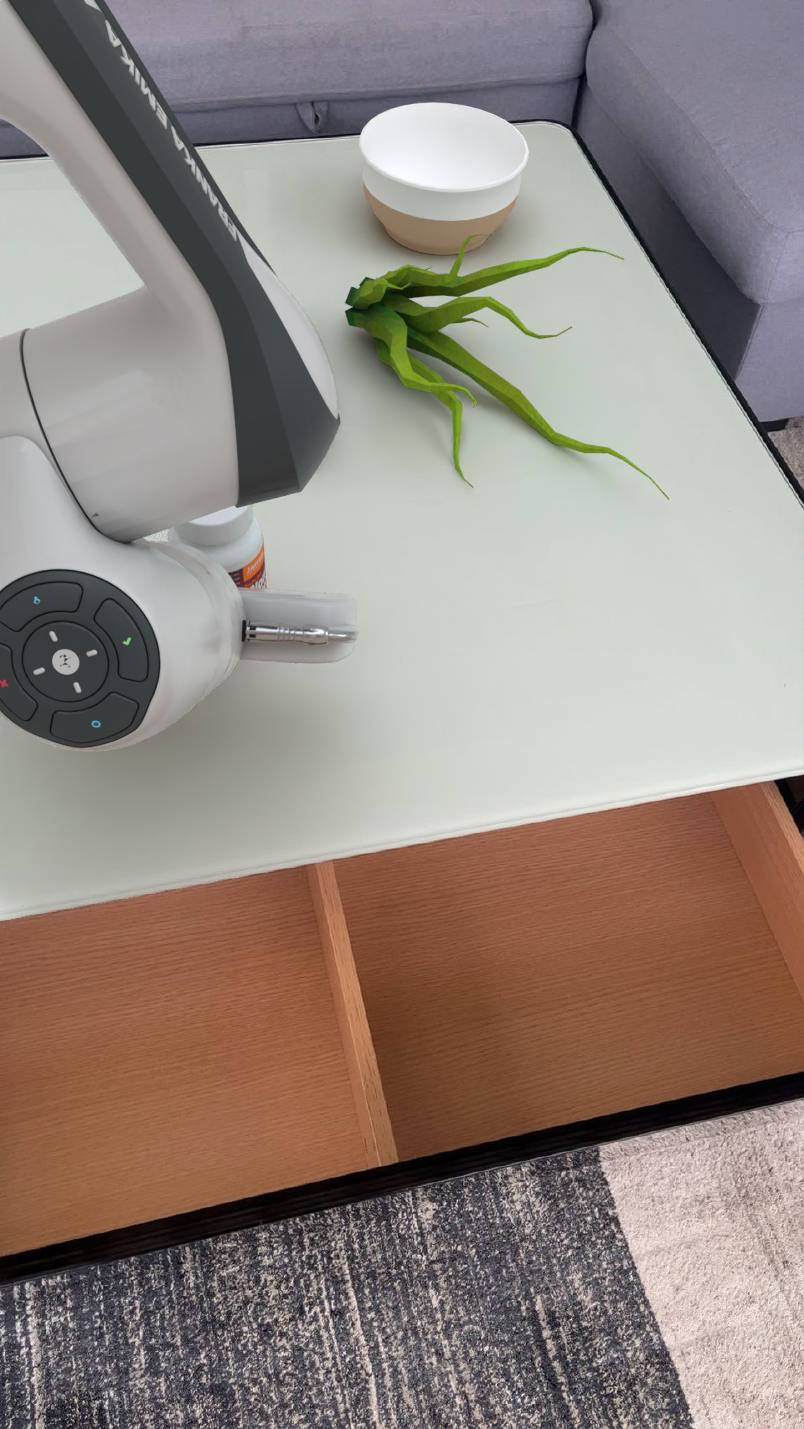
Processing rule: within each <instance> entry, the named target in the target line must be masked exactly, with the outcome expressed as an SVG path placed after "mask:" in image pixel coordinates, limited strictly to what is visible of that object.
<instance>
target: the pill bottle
mask: <svg viewBox="0 0 804 1429" xmlns="http://www.w3.org/2000/svg"><path fill="white" fill-rule="evenodd" d="M167 541H170V542H177V543H181V544H185V545H188V546H191V547H194V548H196V549H198V550H200V551H202V552H204V553H205V554H207V555H209V556H210V557H211V558H213V559H214V560H215V561H216V562H217V563H219V564H220V565H221V566H222V567H223V568H224V570H225V571H226V572H227V573H228V574H229V576H230V577H231V578H232V580H233V581H234V583H235V585H236V586H237V587H243V588H259V589H268V584H267V573H266V572H267V571H266V561H265V560H266V559H265V543H264V542H265V541H264V533H263V528H262V524H261V522H260V520H259V518H258V516H257V515H256V514H255V513H254V506H253V504H251V505H247V506H243V507H240V508H236V507H235V506H232V507H229V508H226V509H223V510H220V511H217V512H215V513H212V514H209V515H206V516H203V517H200V518H197V519H195V520H192V521H189V522H186V523H183V524H180V525H178V526H175V527H172V528H169V529H167Z"/></svg>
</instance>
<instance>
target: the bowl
mask: <svg viewBox="0 0 804 1429" xmlns="http://www.w3.org/2000/svg"><path fill="white" fill-rule="evenodd" d="M358 149H359V151H360V154H361V156H362V167H361V178H362V184H363V191H364V195H365V197H366V200H367V202H368V204H369V207H370V208H371V210H372V212H373V214H374V215H375V216H376V218H377V219H378V220H379V221H380V222H381V223H382V225H383V226H384V229H385V232H386V233H387V234H388V236H389V237H390V238H391V239H392V240H394V241H395V243H397V244H400V245H401V246H403V247H404V248H407V249H409V250H412V251H415V252H418V253H422V254H428V255H435V256H436V255H437V256H448V255H449V256H451V255H458V254H459V252H460V249H461V247H462V244H463V242H464V241H465V240H466V239H467V238H468V237H469V236H472V235H477V234H485V235H479V236H476V237H473V238H471V239H470V240H469V242H468V243H467V244H466V247H465V251H464V253H467V252H470V251H473V250H475V249H477V248H479V247H481V246H482V245H483V244H484V243H485V242H486V241H487V240H488V239H489V237H490V236H486V235H491V234H492V233H493V232H495V231H496V230H497V229H498V228H499V227H501V226H502V225H503V224H504V222H505V221H506V219H507V218H508V217H509V215H510V214H511V213H512V211H513V209H514V208H515V205H516V202H517V200H518V195H519V193H520V189H521V185H522V176H523V175H522V173H523V170H524V169H525V167H526V165H527V164H528V161H529V157H530V152H529V145H528V143H527V141H526V139H525V137H524V135H523V134H522V133H521V132H520V131H519V130H518V129H517V127H516V126H514V125H513V124H511V122H508V121H507V120H506V119H503V118H502V117H500V116H498V115H496V114H494V113H492V112H489V111H486V110H483V109H481V108H477V107H476V108H475V107H473V106H469V105H464V104H457V103H451V102H450V103H449V102H417V103H411V104H405V105H400V106H396V107H394V108H389V109H387V110H385V111H382V112H381V113H378V114H377V115H376V116H374V117H372V118H371V119H370V120H369V121H368V122H367V123H366V124H365V125H364V127H363V128H362V130H361V132H360V134H359V137H358Z"/></svg>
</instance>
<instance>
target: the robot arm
mask: <svg viewBox="0 0 804 1429" xmlns="http://www.w3.org/2000/svg"><path fill="white" fill-rule="evenodd" d="M0 119H1V120H2V121H5V122H7V123H9V124H11V125H12V126H14V127H15V128H17V129H18V130H20V131H21V132H22V133H24V134H25V135H27V136H28V137H29V138H30V139H31V140H32V141H34V143H35V144H37V145H38V146H39V147H40V148H41V149H42V150H43V151H44V152H45V153H46V154H47V156H48V157H49V158H50V159H51V161H53V164H55V165H56V167H57V168H58V169H59V171H60V173H62V176H64V178H65V179H66V180H67V181H68V183H69V184H70V186H71V187H72V188H73V190H74V191H75V193H76V194H77V195H78V196H79V198H80V199H81V201H82V202H83V204H85V206H86V207H87V209H88V210H89V212H90V213H91V214H92V215H93V216H94V218H95V220H96V221H97V222H98V223H99V225H100V226H101V228H102V229H103V230H104V232H105V233H106V234H107V235H108V237H109V238H110V239H111V241H112V243H113V244H114V245H115V246H116V247H117V249H118V250H119V252H120V253H121V254H122V256H123V257H124V258H125V259H126V261H127V262H128V264H129V265H130V267H131V268H132V269H133V271H134V272H135V274H136V275H137V276H138V277H139V279H140V280H141V282H143V284H144V285H142V286H140V287H139V288H137V289H135V290H133V291H131V292H128V293H125V294H123V295H121V296H118V297H114V298H112V299H109V300H107V301H103V302H100V303H98V304H95V305H93V306H91V307H86V308H84V309H81V310H78V311H75V312H73V313H71V314H68V315H65V316H62V317H59V318H57V319H54V320H51V321H48V322H46V323H43V324H40V325H37V326H34V327H31V328H30V327H27V328H23V329H20V330H18V331H15V332H12V333H9V334H7V335H4V336H1V337H0V716H1V717H2V718H3V719H4V720H5V721H6V722H8V723H9V724H10V725H11V726H13V727H14V728H16V729H17V730H18V731H20V732H22V733H23V734H25V735H27V736H28V737H30V738H33V739H34V740H36V741H38V742H41V743H44V744H45V745H49V746H51V747H53V748H54V747H55V748H57V749H62V750H67V751H73V752H106V751H113V750H120V749H123V748H126V747H127V748H128V747H130V746H134V745H136V744H138V743H141V742H144V741H145V740H147V739H150V738H152V737H154V736H156V735H158V734H160V733H161V732H162V731H164V730H166V729H167V728H169V727H171V726H172V725H174V724H175V723H176V722H178V721H179V720H180V719H182V718H183V717H184V716H186V715H187V714H188V713H189V712H190V711H191V710H192V709H194V707H195V706H196V705H198V704H199V703H201V702H202V701H203V700H205V698H208V696H209V695H210V694H212V692H214V691H215V690H216V689H217V688H218V687H220V686H221V685H222V684H223V683H224V682H225V681H226V680H227V679H228V678H229V676H230V675H231V674H232V672H233V671H234V669H235V668H236V666H237V665H238V663H239V660H240V661H254V662H255V661H257V662H271V663H285V664H287V663H288V664H302V665H303V664H304V665H305V664H307V665H308V664H313V665H314V664H332V663H337V662H340V661H342V660H345V659H346V658H348V657H350V656H351V655H352V654H353V653H354V651H355V643H356V642H357V639H358V637H359V634H360V633H359V630H358V626H357V614H358V602H357V599H356V598H355V597H354V596H352V595H349V594H345V593H333V592H322V591H321V592H320V591H306V590H305V591H304V590H303V591H302V590H288V589H274V588H273V589H272V588H267V589H259V588H243V587H237V586H236V585H235V583H234V581H233V580H232V578H231V577H230V576H229V574H228V573H227V572H226V571H225V570H224V568H223V567H222V566H221V565H220V564H219V563H217V562H216V561H215V560H214V559H213V558H211V557H210V556H209V555H207V554H205V553H204V552H202V551H200V550H198V549H196V548H194V547H191V546H188V545H185V544H181V543H177V542H170V541H168V540H150V541H149V540H147V539H146V537H149V536H152V535H155V534H157V533H160V532H163V531H166V530H169V528H172V527H175V526H178V525H180V524H183V523H186V522H189V521H192V520H195V519H197V518H200V517H203V516H206V515H209V514H212V513H215V512H217V511H220V510H223V509H226V508H229V507H232V506H235V507H236V508H240V507H243V506H247V505H251V504H252V505H256V504H259V503H263V502H266V501H270V500H274V499H275V500H276V499H278V498H282V497H286V496H291V495H294V494H299V493H302V492H303V490H304V489H305V487H306V486H307V485H308V484H309V482H310V481H311V479H312V478H313V477H314V475H315V473H316V472H317V470H318V469H319V467H320V465H321V464H322V463H323V461H324V459H325V457H326V456H327V454H328V452H329V450H330V448H331V446H332V444H333V442H334V440H335V437H336V435H337V433H338V431H339V428H340V426H341V417H340V413H339V394H338V387H337V382H336V378H335V373H334V371H333V367H332V363H331V360H330V356H329V354H328V352H327V349H326V347H325V345H324V342H323V340H322V338H321V336H320V334H319V332H318V330H317V328H316V326H315V325H314V322H313V321H312V319H311V318H310V316H309V315H308V313H307V312H306V310H305V309H304V307H303V305H301V303H300V301H298V299H297V297H295V295H294V294H293V292H292V291H291V290H290V289H289V288H288V287H287V286H286V284H285V283H284V282H283V281H282V280H281V279H280V278H279V277H278V275H277V273H276V272H275V270H274V269H273V268H272V266H271V264H270V263H269V262H268V260H267V259H266V257H265V256H264V254H263V253H262V252H261V250H260V249H259V247H258V245H257V244H256V243H255V241H254V240H253V239H252V238H251V235H250V234H249V233H248V231H247V230H246V228H245V227H244V225H243V224H242V222H241V221H240V219H239V218H238V216H237V214H236V213H235V212H234V210H233V209H232V207H231V205H230V204H229V202H228V200H227V198H226V196H225V195H224V194H223V191H222V190H221V188H220V187H219V185H218V184H217V182H216V180H215V179H214V177H213V175H212V174H211V172H210V171H209V169H208V167H207V165H206V164H205V162H204V160H203V159H202V158H201V155H200V154H199V153H198V151H197V149H196V147H195V146H194V144H193V143H192V141H191V139H190V137H189V136H188V134H187V133H186V131H185V130H184V128H183V127H182V126H183V125H182V124H181V123H180V122H179V119H178V118H177V116H176V115H175V113H174V111H173V110H172V108H171V106H170V104H169V103H168V101H167V100H166V98H165V97H164V95H163V93H162V91H161V90H160V88H159V87H158V85H157V84H156V82H155V80H154V78H153V77H152V75H151V74H150V72H149V70H148V69H147V67H146V66H145V64H144V62H143V60H142V59H141V57H140V56H139V54H138V52H137V51H136V49H135V48H134V45H133V44H132V43H131V41H130V39H129V38H128V36H127V35H126V32H125V31H124V29H123V28H122V27H121V25H120V23H119V22H118V19H117V18H116V17H115V15H114V13H113V12H112V10H111V8H110V7H109V6H108V4H107V2H106V0H0Z"/></svg>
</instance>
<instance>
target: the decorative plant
mask: <svg viewBox="0 0 804 1429" xmlns="http://www.w3.org/2000/svg"><path fill="white" fill-rule="evenodd" d="M479 235H485V234H477V235H472V236H469V237H468V238H467V239H466V240H465V241H464V242H463V244H462V247H461V249H460V252H459V254H457V257H456V259H455V261H454V263H453V266H452V268H451V269H450V271H449V273H438V272H434V271H431V270H430V269H432V268H433V266H430V267H428V268H425V269H424V268H421V267H418V266H415V265H411V264H406V265H402V266H400V267H399V268H397V269H395V270H388V271H387V272H386V274H384V275H381V276H380V277H376V278H375V279H374V278H371V277H369V276H365V277H364V278H363V279H362V281H361V282H360V283H359V284H358V286H359V287H354V286H352V285H351V286H350V289H349V291H348V293H347V297H346V299H345V302H344V304H345V305H348V306H350V308H348V309H346V310H344V313H345V317H346V320H347V324H348V326H350V327H355V328H360V329H363V330H365V331H366V332H367V333H368V334H369V336H370V337H371V338H372V339H373V340H374V346H375V351H376V355H377V359H378V360H379V361H381V362H382V363H384V364H385V365H387V366H388V367H391V368H392V369H393V370H394V372H395V374H396V375H397V377H398V379H399V380H400V382H401V383H402V384H403V386H404V387H405V388H410V389H414V390H419V391H423V392H426V393H430V394H432V395H433V396H434V397H435V398H437V399H438V400H439V401H440V402H441V403H442V404H444V405H445V406H446V407H447V408H448V409H449V410H450V411H451V418H452V419H451V420H452V421H451V422H452V431H453V432H452V433H453V434H452V436H453V438H452V439H453V441H452V442H453V444H452V445H453V450H452V451H453V452H452V456H453V461H454V466H455V468H456V470H457V472H458V474H459V475H460V477H461V478H462V480H463V481H464V482H465V483H467V484H468V485H469V487H471V488H472V489H474V486H473V485H472V484H471V483H470V482H469V481H468V480H466V478H465V476H464V474H463V471H462V469H461V466H460V459H459V452H460V451H459V450H460V443H461V436H462V435H461V434H462V422H463V420H462V418H463V403H462V402H461V401H460V399H459V398H458V396H457V395H456V394H455V392H459V393H463V394H465V395H466V396H467V397H468V398H469V399H470V400H471V401H472V402H473V405H472V408H473V409H474V408H476V406H477V403H478V401H477V400H476V398H475V397H474V395H473V394H472V393H471V392H470V390H469V389H468V388H466V387H464V386H461V385H459V384H452V383H447V382H446V380H444V378H443V377H442V376H441V375H440V374H439V373H437V372H436V371H434V370H433V369H432V368H430V367H429V366H428V365H426V364H425V363H423V362H422V361H421V360H419V359H418V358H416V357H415V356H414V355H412V354H411V353H410V352H408V348H409V349H411V350H414V351H416V352H419V353H422V354H425V355H427V356H430V357H432V358H436V359H438V360H440V361H442V362H443V363H445V364H447V365H448V366H450V367H452V368H453V369H454V370H457V371H459V372H461V373H462V374H464V375H466V376H467V377H469V378H470V379H472V380H473V381H474V382H475V383H476V384H478V385H479V386H480V387H482V388H483V389H484V390H485V391H486V392H487V393H489V394H490V395H492V396H493V397H494V398H495V399H496V400H498V401H499V402H501V403H502V404H503V405H504V406H505V407H507V408H508V409H509V410H510V411H512V412H513V413H514V414H516V415H517V416H518V417H519V418H521V419H522V420H523V421H524V422H526V423H527V424H528V425H529V426H531V427H532V428H533V429H535V430H536V431H537V432H538V433H540V434H541V435H542V436H543V437H544V438H546V439H547V440H548V441H549V442H550V443H552V444H555V445H557V446H560V447H564V448H566V449H569V450H572V451H576V452H579V453H582V454H609V455H611V456H613V457H615V458H618V459H619V460H621V461H623V462H625V463H626V464H628V465H629V466H631V467H632V468H633V469H635V470H636V471H638V472H639V473H641V474H642V475H644V476H645V477H647V478H648V479H649V480H650V481H651V482H652V483H653V484H654V485H655V486H656V488H657V489H658V490H659V491H660V492H661V493H662V494H663V496H664V497H665V498H666V499H667V500H668V501H669V500H670V497H669V496H668V495H667V494H666V493H665V492H664V491H663V490H662V488H661V487H660V486H659V485H658V484H657V483H656V482H655V480H654V479H653V478H652V477H651V476H650V475H648V474H647V473H646V472H645V471H644V470H642V469H641V468H639V467H638V466H637V465H636V464H634V463H633V462H632V461H631V460H629V459H628V458H627V457H626V456H624V455H622V454H620V453H619V452H618V451H615V450H614V449H612V448H611V447H608V446H601V445H596V444H590V443H585V442H582V441H579V440H577V439H575V438H571V437H569V436H567V435H564V434H562V433H558V432H557V431H555V430H554V429H553V427H552V426H551V425H550V424H549V423H548V421H547V420H546V419H545V418H544V416H542V414H541V413H540V412H539V410H537V409H536V408H535V406H534V405H533V404H532V402H530V401H529V399H528V398H527V397H526V395H525V394H524V393H523V391H521V390H520V389H518V387H516V386H515V385H513V384H512V383H510V382H509V381H508V380H506V379H505V378H504V377H503V376H501V375H499V374H498V373H497V372H495V371H494V370H493V369H491V368H490V367H489V366H487V365H485V364H484V363H483V362H482V361H481V360H479V359H478V358H476V357H475V356H474V355H472V354H471V353H470V352H469V351H468V350H466V349H465V348H464V347H463V346H461V345H460V343H458V342H457V341H456V340H454V339H453V338H452V337H450V336H449V335H447V334H445V333H444V332H442V331H440V330H442V329H444V328H445V327H447V326H449V325H453V324H462V323H467V322H474V323H479V324H481V325H483V326H485V327H486V328H489V325H487V324H485V323H484V322H482V321H481V320H478V319H476V318H473V317H466V316H469V315H471V314H473V313H476V312H478V311H480V310H483V309H485V308H488V309H490V310H491V311H494V312H495V313H496V314H499V315H501V316H503V317H504V318H505V319H507V320H509V322H511V323H512V324H513V325H514V326H515V327H516V328H517V329H519V330H520V331H521V333H523V334H524V335H525V336H528V337H530V338H531V337H532V338H535V339H538V340H543V339H549V338H557V337H558V336H560V335H563V334H564V333H566V332H567V331H569V330H571V329H572V328H573V326H572V325H571V326H570V327H568V328H566V329H564V330H563V331H561V332H559V333H557V334H538V333H537V332H534V331H531V330H529V329H528V328H527V326H525V324H524V323H523V322H522V321H521V319H520V318H519V317H518V316H517V315H516V314H515V313H514V311H513V310H512V309H510V308H509V307H507V305H505V304H503V303H501V302H500V301H498V300H497V299H495V298H494V297H492V296H491V295H490V296H465V295H467V294H471V293H474V292H476V291H479V290H481V289H484V288H487V287H490V286H493V285H496V284H499V283H501V282H503V281H506V280H509V279H511V278H513V277H517V276H520V275H521V276H522V275H525V274H527V273H531V272H534V271H538V270H542V269H545V268H548V267H550V266H552V265H553V264H555V263H557V262H558V261H561V260H562V259H564V258H566V257H568V256H569V255H573V254H575V253H578V252H582V251H583V252H593V253H605V254H607V255H610V256H613V257H615V258H617V259H620V260H622V261H624V260H625V258H624V257H623V256H622V257H621V256H619V255H616V254H613V253H611V252H609V251H606V250H602V249H597V248H592V247H586V246H580V247H575V248H568V249H565V250H562V251H560V252H557V253H555V254H552V255H550V256H547V257H543V258H534V259H533V258H531V259H523V260H514V261H510V262H506V263H502V264H498V265H494V266H490V267H489V266H488V267H485V268H482V269H479V270H476V271H474V272H471V273H469V274H465V275H463V276H459V275H458V274H459V272H460V268H461V265H462V262H463V258H464V255H465V252H464V251H465V247H466V244H467V243H468V242H469V240H470V239H471V238H473V237H476V236H479ZM486 236H489V237H492V235H491V234H490V235H486ZM444 296H445V297H452V298H453V297H454V299H452V300H449V301H447V302H445V303H443V304H440V305H439V306H423V305H422V304H420V303H418V302H416V301H414V300H412V299H417V298H426V297H444ZM454 391H455V392H454Z"/></svg>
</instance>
